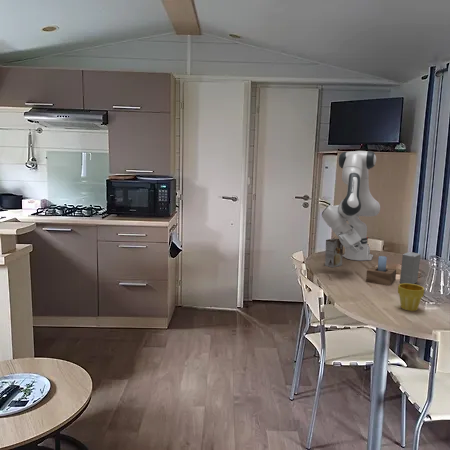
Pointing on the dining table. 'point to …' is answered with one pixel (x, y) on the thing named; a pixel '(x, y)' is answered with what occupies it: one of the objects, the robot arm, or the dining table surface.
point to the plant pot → (410, 296)
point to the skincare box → (410, 268)
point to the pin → (382, 263)
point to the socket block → (381, 276)
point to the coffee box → (333, 253)
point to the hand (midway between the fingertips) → (360, 251)
